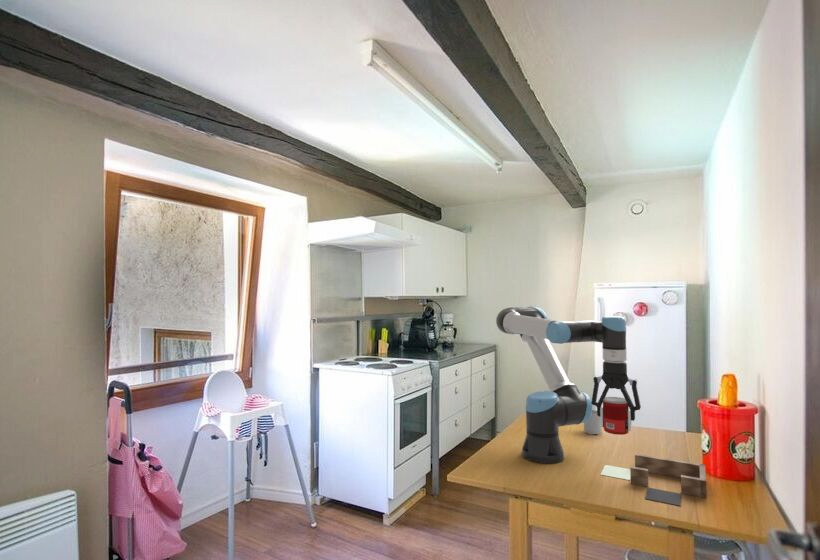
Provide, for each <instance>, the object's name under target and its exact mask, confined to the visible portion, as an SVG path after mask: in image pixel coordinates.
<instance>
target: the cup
mask: <svg viewBox="0 0 820 560" xmlns="http://www.w3.org/2000/svg"><path fill="white" fill-rule="evenodd" d="M584 431H585V432H586V433H585V432H584ZM583 432H584V433H585V434H587V433H589V434H588V435H592V434H599V435H601V434H602V427H601V417H600V416H598V415H597V409H592V414H591V417H590V419H589V420H588V421H586V422H584V423H583Z"/></svg>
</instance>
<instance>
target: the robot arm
mask: <svg viewBox="0 0 820 560" xmlns="http://www.w3.org/2000/svg"><path fill="white" fill-rule="evenodd" d="M495 323H496V327H497V329H498V330H499V331H501V332H502V333H504V334H508V335H519V336H520V339H521V340H522V341H523V342H525V343H527V344H528V347H529V349H530V351H531V353H532V355H533V357H534V359H535V361H536V364H537V366H538V368H539V370H540V372H541V374H542V376H543V379H544V381H545V383H546V385H547V387H548V390H543V391H535V392H532V393H530V394H529V395H528V396H526V400H525V415H526V416H525V417H526V418H525V419H526V420H525V421H526V423H525V424H526V425H525V426H526V428H525V429H526V435H525V438H524V441H523V444H522V449H521V453H522V454H521V455H522V457H523V458H525V459H526V460H528V461H531V462H535V463H539V464H557V463H560V462H563V460H564V459H565V452H564V451H565V450H564V449H563V445H562V443H561V440H560V437H559V436H560V435H559V427H566V426H572V425H573V426H574V425H576V426H577V425H580V424H584V422H586V421H588V420H589V419H590V417H591V414H592V410H593V406H595V407H596V411H597V415H598V416H600V417H601V428H604V427H603V399H604V398H605V397H607V394H608V392H609V389H612V390H613V389H616V390H620V392H621V394H622V396H623V398H624V399H625V400H626V401H627V404H628V406H629V410H628V431H629V432H631V431H632V429H633V425H632V422H635V420H636V411H640V410H641V408H642V406H641V401H640V397H639V391H638V386H637V385H638V379H636V378H634V379H633V378H630V377H628V369H627V368H628V364H627V362H626V361H627V325H626V319H625V317H624V316H615V315H614V316H613V315H611V316H610V315H609V316H608V315H607V316H605V315H604V316H602V318H601V321H599V320H591V319H584V320H582V319H581V320H580V321H579V320H578V321H577V320H576V321H574V320H573V321H562V320H556V319H548V315H547V314H546V313H545V311H544V310H543V309H542V308H540V307H536V306H535V307H533V306H527V307H522V306H521V307H518V306H517V307H506V308H503V309H502V310H501V311H499V313H498V314H497V316H496V320H495ZM586 342H587V343H589V342H590V343H591V342H594V343H601V344H602V360H603V362H602V375H599V376H598V375H595V376H594V377H593V383H594V385H593V389H592V395H591V396H592V398H591V397H590V395H588V394H587V393H586V392H584V391H580V390H579V389H578V386H577V385H576V384H575V383H572V382H570V379H569V377H568V376H567V373H566V371H565V370H564V368H563V366H562V364H561V361H560V359H559V358H558V355H557V354H556V352H555V350H554V348H553V346H552V344H559V345H562V344H570V343H586ZM602 381H603V383H604V384H605V386H604V388H603V391H602V394H601V395H600V398H598V393H599V388H600V387H599V386H600V383H601V382H602ZM627 383H629V386H631V390H632V394H633V395H632V396H633V400H634V403H633V401H632V399H631V397H630V395H629V392H628V390H627V387H626V384H627ZM597 399H599V400H598V401H597Z"/></svg>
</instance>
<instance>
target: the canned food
mask: <svg viewBox="0 0 820 560" xmlns="http://www.w3.org/2000/svg"><path fill="white" fill-rule="evenodd" d="M602 406H603V427H602V428H603V430H604V431H605V433H608V434H612V435H622V436H623V435H627V434H629V432H630V431H628V410H629V409H630V408H629V406H628V404H627V401H626V400H625V398H624V397H617V396H606V397H605V398H604V399H603V403H602Z"/></svg>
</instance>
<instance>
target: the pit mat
mask: <svg viewBox="0 0 820 560" xmlns="http://www.w3.org/2000/svg"><path fill="white" fill-rule="evenodd" d="M644 500H647V501H653V502H657V503H658V502H659V503H663V504H667V505H671V506H672V505H673V506H677V507H681V506H682V501H681V500H682V493H681V492H680V493H678V492H674V491H668V490H663V489H657V488H652V487H649V486H648V487H647V490H646V494H645V499H644Z"/></svg>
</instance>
